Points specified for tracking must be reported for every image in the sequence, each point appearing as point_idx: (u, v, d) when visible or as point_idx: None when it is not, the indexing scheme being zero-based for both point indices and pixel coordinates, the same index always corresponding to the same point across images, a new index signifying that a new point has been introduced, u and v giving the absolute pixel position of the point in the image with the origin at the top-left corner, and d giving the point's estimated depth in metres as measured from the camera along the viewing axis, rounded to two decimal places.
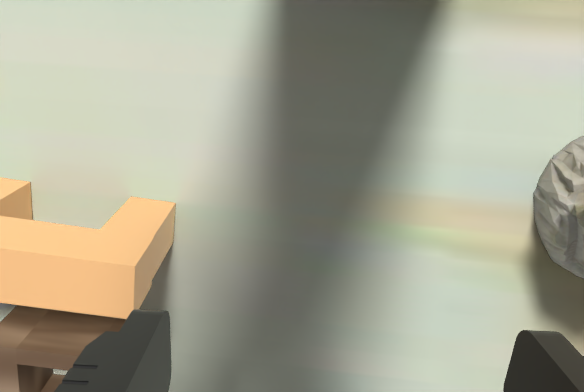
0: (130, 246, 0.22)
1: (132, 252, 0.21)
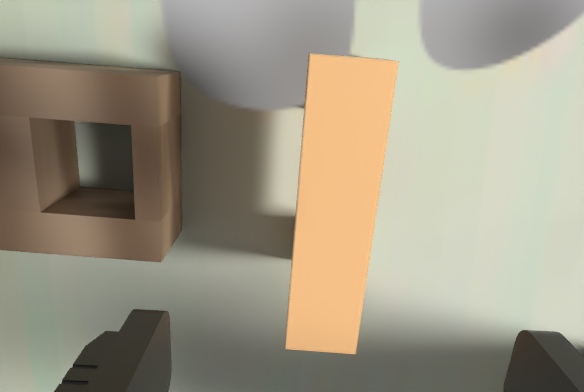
0: None
1: None
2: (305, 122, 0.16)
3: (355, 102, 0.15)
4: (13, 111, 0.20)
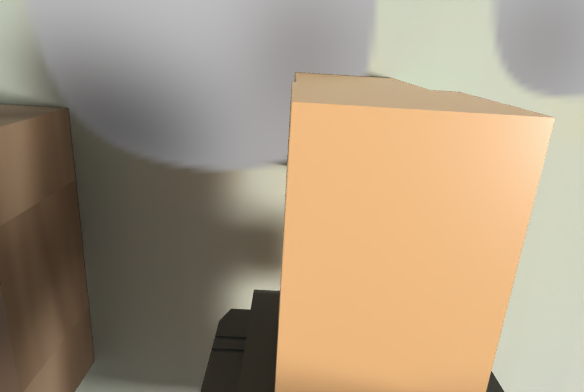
0: None
1: None
2: (283, 281, 0.06)
3: (421, 232, 0.05)
4: None
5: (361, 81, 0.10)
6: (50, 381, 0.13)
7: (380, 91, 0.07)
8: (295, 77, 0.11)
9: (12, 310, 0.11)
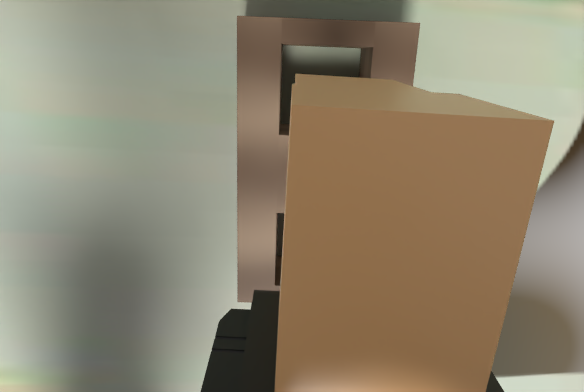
0: None
1: None
2: (283, 283, 0.06)
3: (421, 233, 0.05)
4: None
5: (361, 83, 0.10)
6: None
7: (380, 93, 0.07)
8: None
9: None
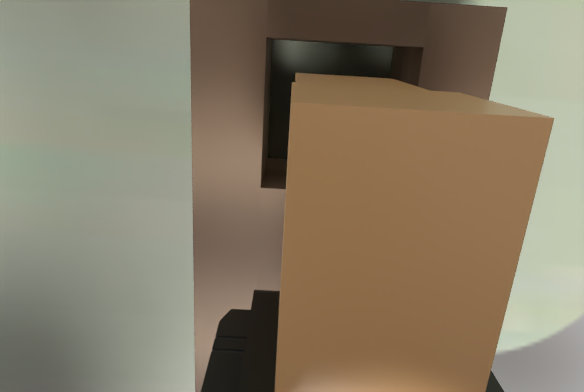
0: None
1: None
2: (283, 281, 0.06)
3: (420, 232, 0.05)
4: None
5: (361, 81, 0.10)
6: None
7: (380, 91, 0.07)
8: (295, 77, 0.11)
9: None
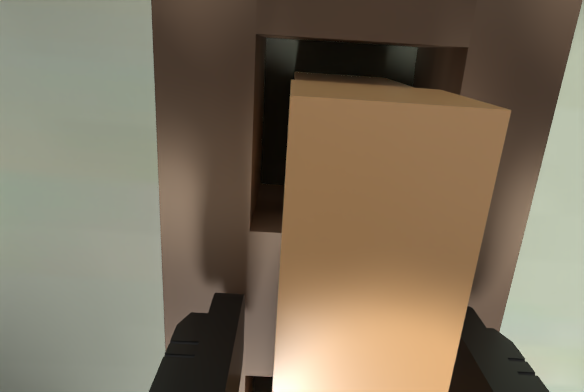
0: None
1: None
2: (283, 250, 0.07)
3: (400, 206, 0.06)
4: None
5: (354, 80, 0.11)
6: None
7: (368, 88, 0.08)
8: (294, 76, 0.12)
9: None
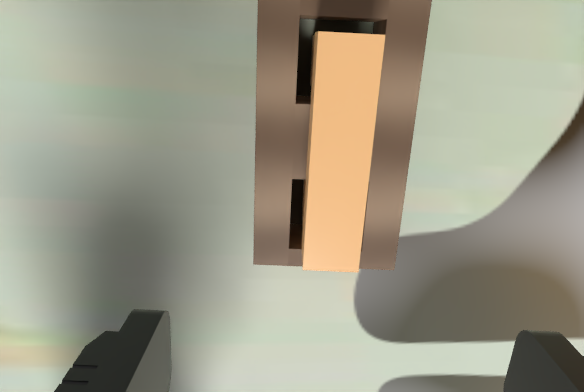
0: None
1: None
2: (315, 84, 0.20)
3: (353, 67, 0.20)
4: (374, 171, 0.26)
5: None
6: None
7: None
8: (313, 36, 0.26)
9: None
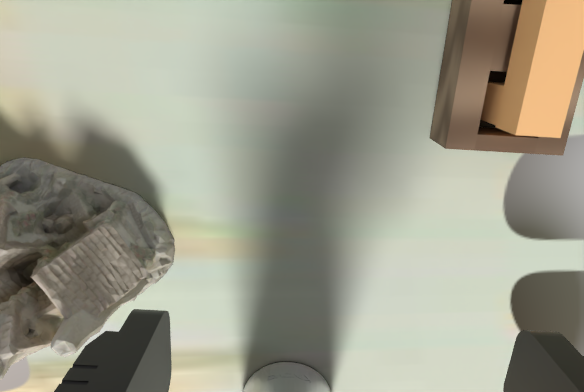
0: None
1: None
2: None
3: None
4: None
5: None
6: None
7: None
8: None
9: None
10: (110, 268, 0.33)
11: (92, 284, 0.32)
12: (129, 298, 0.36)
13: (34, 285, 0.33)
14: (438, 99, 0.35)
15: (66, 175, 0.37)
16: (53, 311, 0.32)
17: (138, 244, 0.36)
